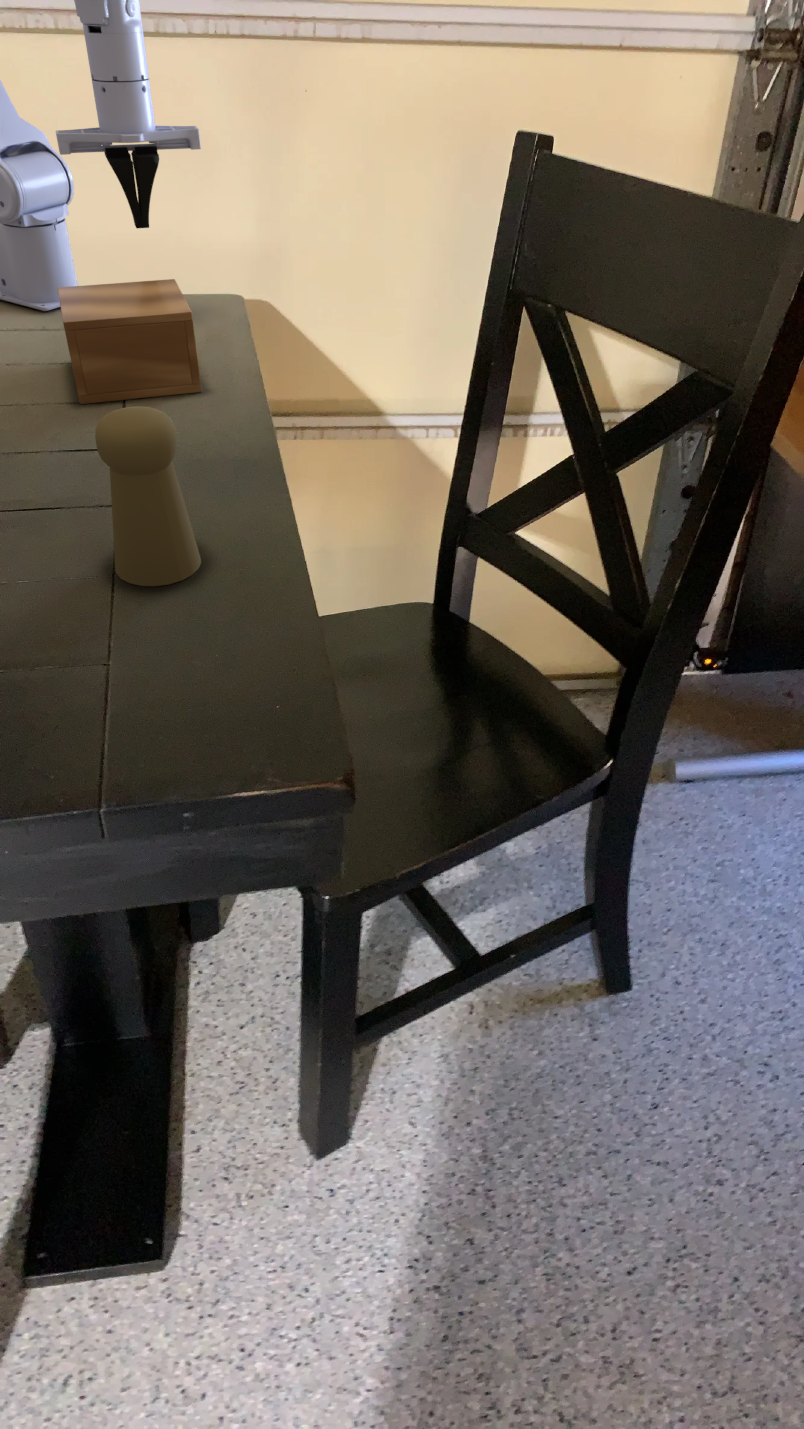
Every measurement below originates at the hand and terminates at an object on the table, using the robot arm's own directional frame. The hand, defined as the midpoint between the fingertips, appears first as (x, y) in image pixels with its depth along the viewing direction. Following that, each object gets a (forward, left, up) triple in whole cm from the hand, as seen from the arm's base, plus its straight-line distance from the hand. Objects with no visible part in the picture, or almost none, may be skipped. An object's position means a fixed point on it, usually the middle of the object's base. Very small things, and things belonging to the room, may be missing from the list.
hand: (141, 226), depth 105 cm
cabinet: (+12, -15, -10) cm, 22 cm away
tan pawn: (+41, -41, -10) cm, 58 cm away
